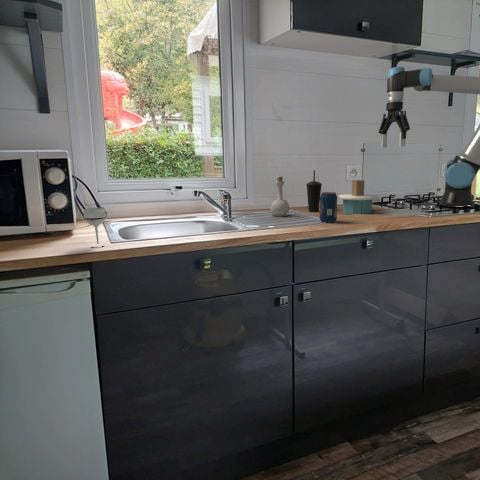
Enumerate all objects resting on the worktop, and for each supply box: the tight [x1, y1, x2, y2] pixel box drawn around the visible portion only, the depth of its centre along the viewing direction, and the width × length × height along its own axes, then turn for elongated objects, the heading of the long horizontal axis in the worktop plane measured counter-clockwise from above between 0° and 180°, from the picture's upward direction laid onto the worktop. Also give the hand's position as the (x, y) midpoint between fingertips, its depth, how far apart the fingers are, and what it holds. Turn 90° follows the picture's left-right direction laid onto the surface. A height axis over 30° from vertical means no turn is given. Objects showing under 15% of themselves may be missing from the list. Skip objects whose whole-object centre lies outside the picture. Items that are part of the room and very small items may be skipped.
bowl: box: [342, 199, 373, 216], centre depth 181 cm, size 13×13×7 cm
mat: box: [374, 208, 433, 217], centre depth 177 cm, size 18×18×1 cm
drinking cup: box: [305, 170, 323, 213], centre depth 188 cm, size 8×8×20 cm
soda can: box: [319, 191, 338, 223], centre depth 159 cm, size 7×7×12 cm
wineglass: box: [83, 207, 107, 244], centre depth 123 cm, size 7×7×12 cm
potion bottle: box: [270, 176, 290, 217], centre depth 178 cm, size 9×9×18 cm
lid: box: [338, 179, 378, 201], centre depth 180 cm, size 17×17×8 cm
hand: (392, 146), depth 192 cm, fingers open, 13 cm apart
